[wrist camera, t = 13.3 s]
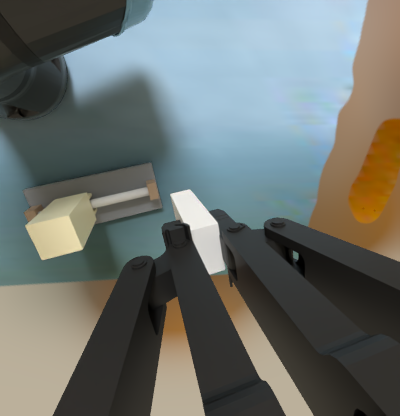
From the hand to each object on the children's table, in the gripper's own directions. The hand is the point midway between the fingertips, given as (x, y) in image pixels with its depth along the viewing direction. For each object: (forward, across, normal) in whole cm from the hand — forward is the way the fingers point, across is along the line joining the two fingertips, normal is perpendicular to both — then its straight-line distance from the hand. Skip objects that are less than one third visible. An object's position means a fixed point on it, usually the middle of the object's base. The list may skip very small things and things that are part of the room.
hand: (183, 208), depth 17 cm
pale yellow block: (+27, -15, -5) cm, 32 cm away
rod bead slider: (+29, -12, -5) cm, 32 cm away
